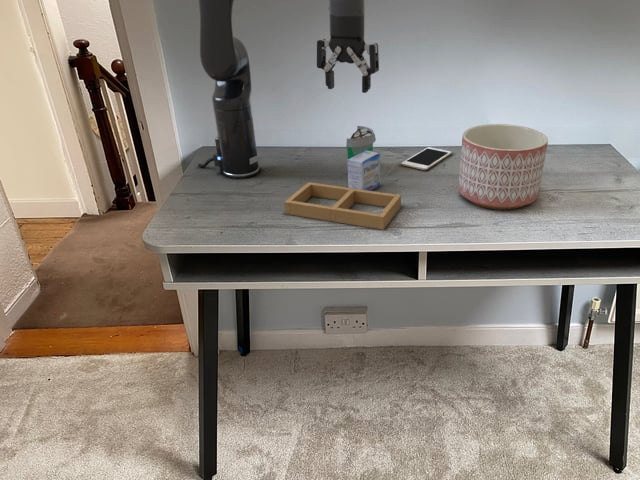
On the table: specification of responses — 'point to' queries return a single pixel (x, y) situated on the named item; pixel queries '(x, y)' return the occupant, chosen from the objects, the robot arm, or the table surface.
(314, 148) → the table surface
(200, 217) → the table surface
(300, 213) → the wooden divided frame
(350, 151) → the food container
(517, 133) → the planter
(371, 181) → the medicine box
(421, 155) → the cell phone
